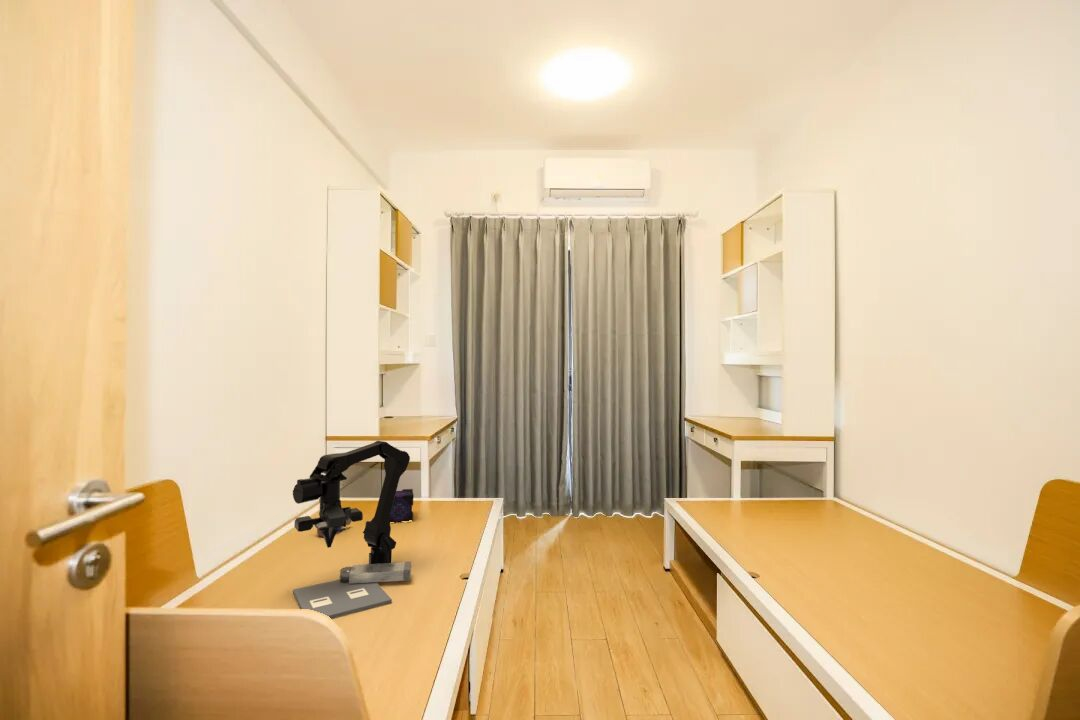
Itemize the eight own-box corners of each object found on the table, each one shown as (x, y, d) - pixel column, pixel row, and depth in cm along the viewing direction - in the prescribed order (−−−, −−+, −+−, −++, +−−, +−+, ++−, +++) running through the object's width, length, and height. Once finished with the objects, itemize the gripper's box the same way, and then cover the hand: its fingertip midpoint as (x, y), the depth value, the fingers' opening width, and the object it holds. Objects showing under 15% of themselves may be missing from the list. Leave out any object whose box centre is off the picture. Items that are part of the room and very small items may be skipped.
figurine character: (338, 530, 204) (311, 536, 190) (340, 511, 205) (314, 517, 191) (351, 532, 202) (325, 538, 188) (353, 513, 203) (327, 518, 189)
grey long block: (337, 584, 145) (338, 574, 145) (342, 575, 152) (342, 565, 152) (409, 580, 150) (410, 569, 150) (410, 571, 156) (411, 561, 157)
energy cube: (384, 516, 221) (385, 490, 221) (411, 514, 224) (412, 488, 225) (384, 524, 209) (385, 496, 210) (412, 522, 213) (413, 495, 213)
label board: (368, 576, 155) (368, 572, 155) (391, 602, 137) (391, 599, 137) (292, 592, 142) (292, 589, 142) (307, 624, 124) (308, 620, 124)
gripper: (303, 507, 136) (302, 562, 136) (369, 497, 148) (368, 548, 147) (294, 499, 145) (293, 550, 144) (357, 489, 156) (356, 537, 156)
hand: (328, 547), depth 148 cm, fingers closed
